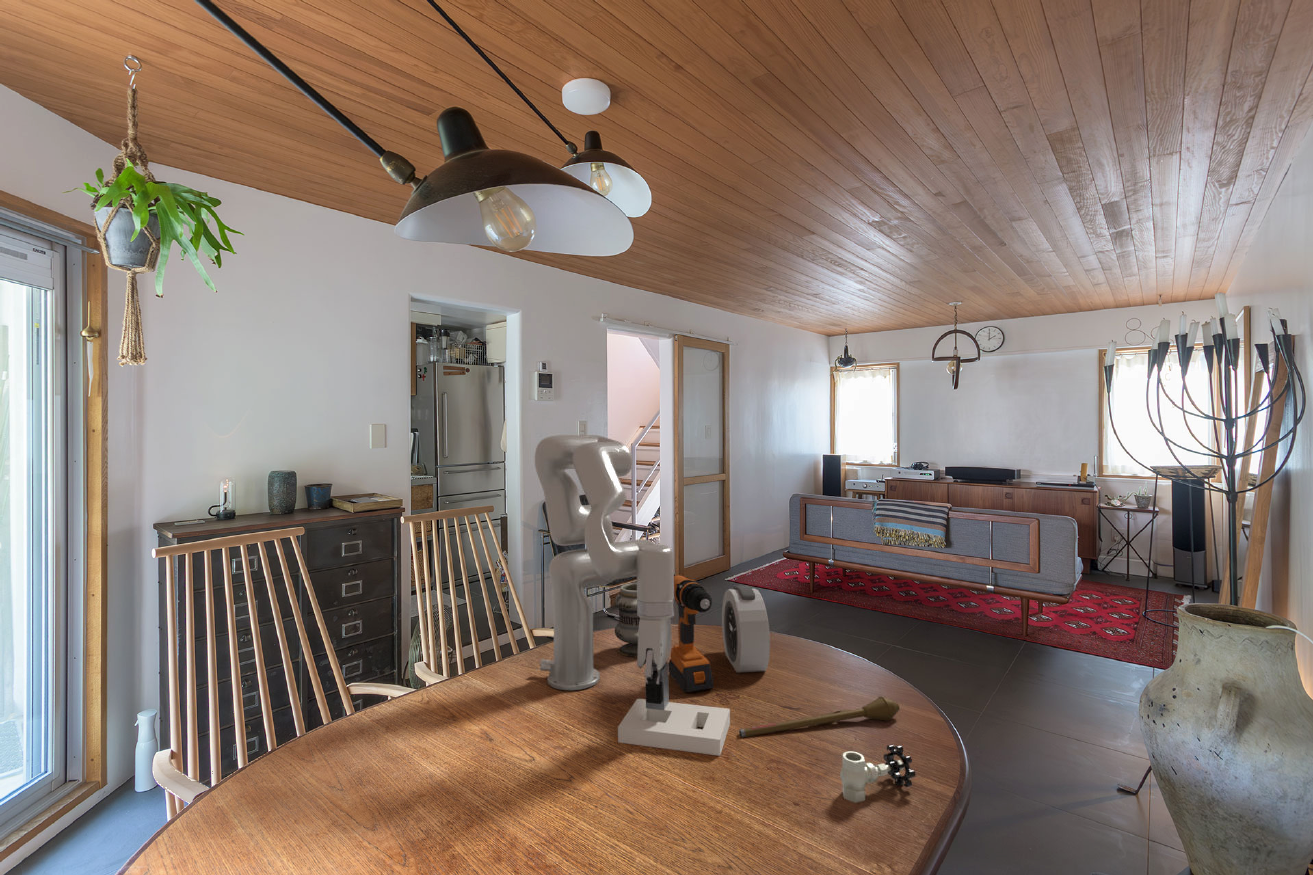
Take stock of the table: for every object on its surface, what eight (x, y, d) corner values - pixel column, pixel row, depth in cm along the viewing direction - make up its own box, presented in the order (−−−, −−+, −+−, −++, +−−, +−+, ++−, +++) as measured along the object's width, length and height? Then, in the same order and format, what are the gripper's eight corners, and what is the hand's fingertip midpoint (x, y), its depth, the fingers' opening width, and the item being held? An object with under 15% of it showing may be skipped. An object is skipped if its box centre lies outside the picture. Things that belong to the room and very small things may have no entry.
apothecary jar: (610, 657, 162) (609, 590, 162) (620, 642, 174) (619, 580, 174) (654, 659, 160) (653, 592, 160) (661, 644, 172) (660, 581, 172)
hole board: (618, 742, 117) (618, 726, 117) (637, 712, 130) (637, 698, 130) (720, 755, 112) (719, 739, 112) (729, 723, 125) (729, 708, 125)
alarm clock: (721, 648, 168) (721, 577, 168) (748, 647, 169) (747, 576, 169) (740, 678, 147) (740, 598, 147) (770, 677, 148) (769, 596, 148)
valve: (856, 810, 96) (915, 794, 100) (856, 769, 95) (915, 755, 100) (830, 787, 102) (887, 773, 106) (830, 749, 102) (887, 736, 106)
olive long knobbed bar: (745, 750, 117) (737, 741, 121) (905, 722, 124) (891, 713, 129) (743, 725, 117) (735, 716, 122) (902, 698, 125) (889, 691, 129)
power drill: (725, 702, 134) (725, 590, 134) (694, 707, 132) (693, 593, 132) (692, 667, 155) (692, 570, 155) (665, 670, 153) (664, 572, 153)
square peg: (645, 708, 120) (645, 668, 120) (650, 700, 124) (650, 661, 124) (664, 710, 119) (663, 669, 119) (668, 701, 123) (668, 662, 123)
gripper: (649, 595, 131) (650, 680, 131) (625, 617, 115) (626, 714, 115) (682, 597, 129) (684, 683, 129) (663, 620, 113) (664, 718, 113)
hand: (657, 696), depth 122 cm, fingers closed on square peg, 3 cm apart
